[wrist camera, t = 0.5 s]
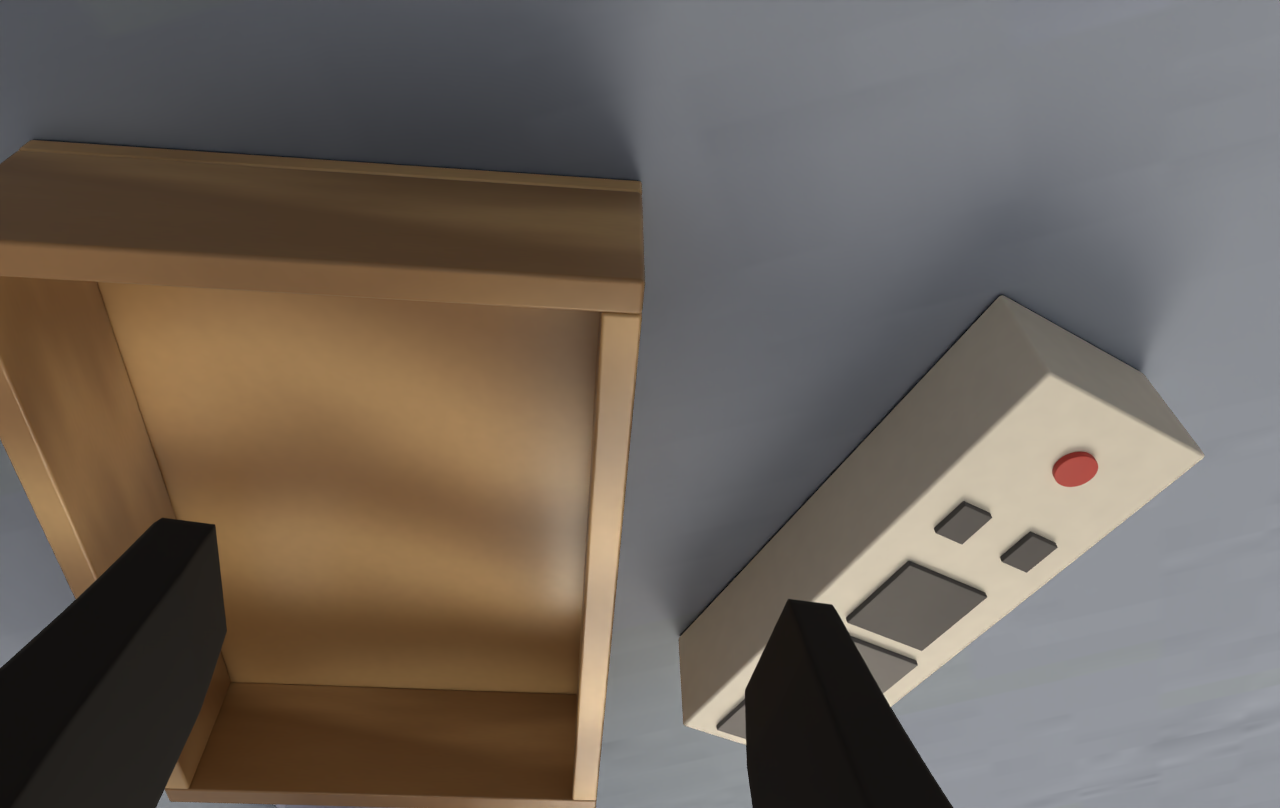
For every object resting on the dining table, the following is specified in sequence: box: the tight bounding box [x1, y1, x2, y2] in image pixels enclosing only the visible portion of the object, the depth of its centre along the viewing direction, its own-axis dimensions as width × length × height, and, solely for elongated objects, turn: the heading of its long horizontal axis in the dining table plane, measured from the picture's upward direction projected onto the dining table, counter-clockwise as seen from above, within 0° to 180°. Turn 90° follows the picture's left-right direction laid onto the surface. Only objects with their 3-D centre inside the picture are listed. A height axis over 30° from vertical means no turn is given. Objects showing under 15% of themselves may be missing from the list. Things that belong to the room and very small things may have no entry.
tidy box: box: [0, 140, 645, 808], centre depth 22 cm, size 18×12×4 cm
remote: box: [679, 295, 1204, 745], centre depth 23 cm, size 14×5×3 cm, turn 150°
